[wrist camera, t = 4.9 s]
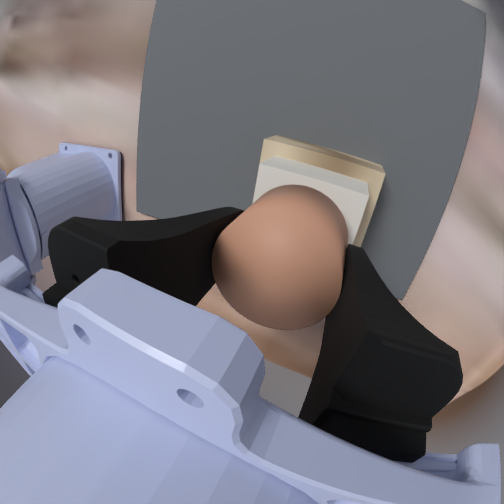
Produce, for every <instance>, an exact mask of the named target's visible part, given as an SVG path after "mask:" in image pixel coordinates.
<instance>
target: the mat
mask: <svg viewBox="0 0 504 504" xmlns="http://www.w3.org/2000/svg"><path fill="white" fill-rule="evenodd" d="M485 17H486V13H484V12H482V11H481V10H479V9H477V8H475V7H473V6H471V5H469V4H467V3H465V2H463V1H461V0H157V1H156V5H155V10H154V14H153V19H152V24H151V30H150V35H149V41H148V47H147V53H146V60H145V67H144V75H143V83H142V92H141V102H140V113H139V127H138V145H137V183H136V197H137V212H140V213H143V214H146V215H149V216H153V217H156V218H159V219H166V218H173V217H179V216H184V215H189V214H194V213H199V212H203V211H207V210H212V209H216V208H222V207H234V208H238V209H241V210H244V211H245V210H246V209H247V208H248V207H249V206H251V205H252V203H253V197H254V192H255V186H256V180H257V175H258V169H259V163H260V158H261V152H262V147H263V141H264V139H265V138H268V137H272V136H275V135H279V136H283V137H287V138H291V139H295V140H299V141H303V142H307V143H311V144H315V145H318V146H322V147H326V148H329V149H333V150H336V151H339V152H343V153H346V154H349V155H352V156H355V157H359V158H362V159H365V160H368V161H371V162H374V163H377V164H379V165H382V167H383V169H384V172H385V177H384V180H383V183H382V187H381V190H380V193H379V196H378V199H377V202H376V205H375V208H374V211H373V214H372V217H371V219H370V222H369V225H368V228H367V231H366V233H365V236H364V239H363V241H362V244H361V248H363V249H364V250H365V252H366V254H367V256H368V257H369V259H370V261H371V263H372V264H373V266H374V268H375V269H376V271H377V273H378V274H379V276H380V277H381V279H382V280H383V282H384V283H385V285H386V286H387V288H388V289H389V290H390V292H391V293H392V294H393V295H394V297H395V298H398V299H401V300H402V299H403V297H404V295H405V294H406V292H407V290H408V288H409V286H410V284H411V282H412V280H413V278H414V276H415V274H416V272H417V270H418V268H419V266H420V264H421V262H422V260H423V258H424V256H425V254H426V252H427V250H428V247H429V245H430V243H431V241H432V239H433V236H434V234H435V232H436V229H437V227H438V225H439V222H440V220H441V217H442V215H443V212H444V210H445V207H446V204H447V202H448V199H449V196H450V194H451V191H452V188H453V185H454V182H455V179H456V176H457V173H458V170H459V167H460V164H461V161H462V157H463V154H464V150H465V147H466V143H467V139H468V136H469V132H470V128H471V123H472V119H473V115H474V110H475V105H476V100H477V95H478V89H479V83H480V76H481V69H482V61H483V52H484V39H485Z"/></svg>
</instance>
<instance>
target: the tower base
mask: <svg viewBox="0 0 504 504" xmlns="http://www.w3.org/2000/svg"><path fill="white" fill-rule="evenodd" d="M273 156H279V157H283V158H287V159H291V160H295V161H298V162H302V163H306V164H309V165H313V166H316V167H320V168H323V169H326V170H330V171H333V172H336V173H340V174H343V175H346V176H349V177H352V178H355V179H358V180H361V181H364V182H367V183H368V190H369V198H368V201H367V204H366V207H365V210H364V213H363V216H362V219H361V222H360V225H359V228H358V231H357V234H356V236H355V239H354V242H353V245H355V246H358V247H361V244H362V241H363V239H364V236H365V233H366V231H367V228H368V225H369V222H370V219H371V217H372V214H373V211H374V208H375V205H376V202H377V199H378V196H379V193H380V190H381V187H382V183H383V180H384V177H385V172H384V169H383V167H382V165H379V164H377V163H374V162H371V161H368V160H365V159H362V158H359V157H355V156H352V155H349V154H346V153H343V152H339V151H336V150H333V149H329V148H326V147H322V146H318V145H315V144H311V143H307V142H303V141H299V140H295V139H291V138H287V137H283V136H279V135H275V136H272V137H268V138H265V139H264V141H263V147H262V152H261V158H260V163H262V162H264V161H265V160H267V159H269V158H271V157H273ZM260 163H259V164H260ZM258 170H259V169H258ZM256 181H257V180H256ZM253 198H254V197H253ZM252 204H253V203H252Z"/></svg>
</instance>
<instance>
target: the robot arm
mask: <svg viewBox="0 0 504 504" xmlns="http://www.w3.org/2000/svg"><path fill="white" fill-rule="evenodd" d="M111 154H112V155H111ZM243 212H244V210H241V209H238V208H234V207H222V208H216V209H212V210H207V211H203V212H199V213H194V214H189V215H184V216H179V217H173V218H166V219H157V220H142V221H122V205H121V154H120V152H119V151H118V150H113V149H107V148H101V147H94V146H87V145H80V144H73V143H65V142H63V143H60V144H59V153H56V154H53V155H50V156H48V157H45V158H42V159H39V160H36V161H33V162H31V163H28V164H25V165H23V166H20V167H18V168H16V169H14V170H13V171H12V172H11V173H9V175H8V176H6V172H5V170H2V169H0V340H1V341H2V342H3V344H4V345H5V346H6V347H7V349H8V350H9V351H10V352H11V353H12V355H13V356H14V357H15V358H16V360H17V361H18V362H19V363H20V364H21V365H22V367H23V368H24V369H25V370H26V371H27V372H28V374H29V375H30V376H31V377H30V378H29V379H28V380H27V381H26V382H25V383H24V384H23V385H22V386H21V388H19V389H18V390H17V392H16V393H15V394H14V395H13V396H12V397H11V398H10V399H9V400H8V401H7V402H6V403H5V404H4V405H3V406H2V407H1V408H0V504H500V499H501V498H500V497H501V470H500V453H499V444H497V443H475V444H472V445H470V446H468V447H466V448H465V449H463V450H462V451H461V452H459V453H458V454H457V455H456V454H441V453H430V452H426V432H429V431H430V430H431V428H432V417H433V416H434V415H435V414H437V413H438V412H439V411H440V410H441V409H442V408H443V407H445V406H446V405H447V404H448V403H449V402H450V401H451V400H452V399H453V398H454V396H455V395H456V394H457V393H458V392H459V390H460V387H461V385H462V380H463V374H462V368H461V363H460V358H459V354H458V351H457V350H455V349H454V348H452V347H451V346H449V345H448V344H446V343H445V342H443V341H442V340H440V339H439V338H437V337H436V336H435V335H434V334H432V333H431V332H430V331H429V330H427V329H426V328H425V327H424V326H423V325H421V324H420V323H419V322H418V321H417V320H416V319H415V318H414V317H413V316H412V315H411V314H410V313H409V312H408V311H407V310H406V309H405V308H404V307H403V306H402V305H401V304H400V303H399V301H398V300H397V299H396V298H395V297H394V295H393V294H392V293H391V292H390V290H389V289H388V288H387V286H386V285H385V283H384V282H383V280H382V279H381V277H380V276H379V274H378V273H377V271H376V269H375V268H374V266H373V264H372V263H371V261H370V259H369V257H368V256H367V254H366V252H365V250H364V249H363V248H361V247H358V246H355V245H352V244H348V247H347V251H346V258H345V266H344V273H343V280H342V286H341V292H340V295H339V299H338V301H337V303H336V305H335V306H334V308H333V309H332V311H331V312H330V313H329V314H328V315H327V316H326V320H325V327H324V333H323V339H322V345H321V350H320V355H319V358H318V362H317V365H316V368H315V371H314V374H313V378H312V381H311V384H310V387H309V390H308V392H307V396H306V398H305V401H304V403H303V406H302V409H301V411H300V414H299V417H295V416H294V415H292V414H290V413H288V412H286V411H285V410H283V409H281V408H279V407H278V406H276V405H274V404H272V403H271V402H269V401H267V400H265V399H264V398H262V397H260V396H259V391H260V387H261V384H262V381H263V378H264V376H265V365H264V355H263V353H262V352H261V351H260V350H259V348H258V347H257V346H256V344H255V343H254V342H253V341H252V339H251V338H250V337H249V336H248V334H247V333H246V332H245V331H243V330H242V329H240V328H238V327H237V326H235V325H233V324H232V323H230V322H229V321H227V320H225V319H224V318H222V317H220V316H217V315H215V314H212V313H210V312H208V311H205V310H203V309H200V308H198V307H196V305H197V304H198V303H199V301H200V300H201V299H202V298H203V297H204V296H205V294H206V293H207V292H208V291H209V290H210V289H211V287H212V286H213V285H214V284H215V283H216V282H215V279H214V276H213V271H212V252H213V248H214V245H215V243H216V241H217V239H218V237H219V235H220V234H221V233H222V231H223V230H224V229H225V228H226V227H227V226H228V225H229V224H231V223H232V222H233V221H234V220H235V219H236V218H237V217H238V216H239V215H241V214H242V213H243ZM47 256H50V259H51V264H52V268H53V272H54V275H55V279H56V282H57V283H56V284H54V285H53V286H52V287H50V288H49V289H48V290H46V291H45V292H43V291H41V290H40V289H39V288H38V287H36V286H35V282H36V276H35V273H37V272H38V271H40V270H41V269H43V266H42V262H41V260H43V259H44V258H46V257H47Z"/></svg>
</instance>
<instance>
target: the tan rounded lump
mask: <svg viewBox="0 0 504 504" xmlns="http://www.w3.org/2000/svg"><path fill="white" fill-rule="evenodd" d="M347 245H348V229H347V224H346V221H345V218H344V216H343V214H342V212H341V211H340V209H339V208H338V206H337V205H336V204H335V203H334V202H333V201H332V200H331V199H330V198H329V197H328V196H326V195H325V194H323V193H322V192H320V191H318V190H316V189H314V188H311V187H308V186H303V185H294V184H292V185H283V186H279V187H276V188H273V189H271V190H269V191H267V192H266V193H265V194H263V195H262V196H261V197H260V198H258V199H257V200H256V201H255V202H254V203H253V204H252V205H251V206H249V207H248V208H247V209H246V210H245V211H244V212H243V213H242V214H241V215H239V216H238V217H237V218H236V219H235V220H234V221H233V222H232V223H231V224H229V225H228V226H227V227H226V228H225V229H224V230H223V231H222V233H221V234H220V235H219V237H218V239H217V241H216V243H215V245H214V248H213V252H212V271H213V276H214V279H215V282H216V284H217V287H218V288H219V290H220V292H221V294H222V295H223V297H224V298H225V299H226V301H227V302H228V303H229V304H230V305H231V306H232V307H233V308H234V309H235V310H236V311H237V312H239V313H240V314H241V315H243V316H244V317H246V318H247V319H249V320H251V321H253V322H255V323H257V324H260V325H262V326H265V327H269V328H274V329H280V330H294V329H301V328H305V327H308V326H311V325H313V324H315V323H317V322H319V321H321V320H322V319H323V318H324V317H326V316H327V315H328V314H329V313H330V312H331V311H332V309H333V308H334V306H335V305H336V303H337V301H338V299H339V295H340V292H341V286H342V280H343V273H344V266H345V258H346V251H347Z"/></svg>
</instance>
